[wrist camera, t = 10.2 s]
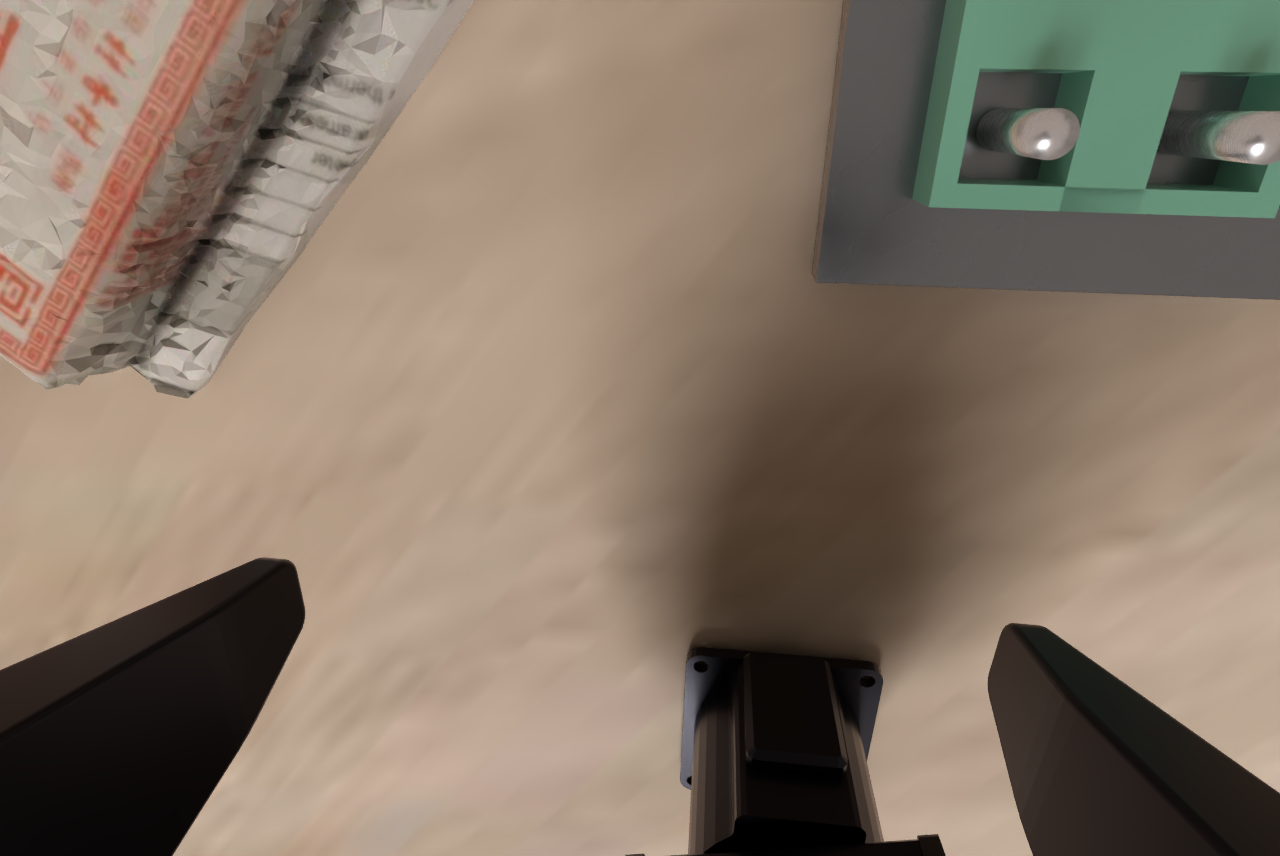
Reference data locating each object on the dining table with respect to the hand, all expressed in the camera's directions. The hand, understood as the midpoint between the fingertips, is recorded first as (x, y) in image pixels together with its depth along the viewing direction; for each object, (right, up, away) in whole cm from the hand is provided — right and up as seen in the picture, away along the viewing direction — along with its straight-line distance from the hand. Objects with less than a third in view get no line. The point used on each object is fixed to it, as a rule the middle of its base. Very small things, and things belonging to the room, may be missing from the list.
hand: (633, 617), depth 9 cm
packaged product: (-11, +13, +10) cm, 19 cm away
